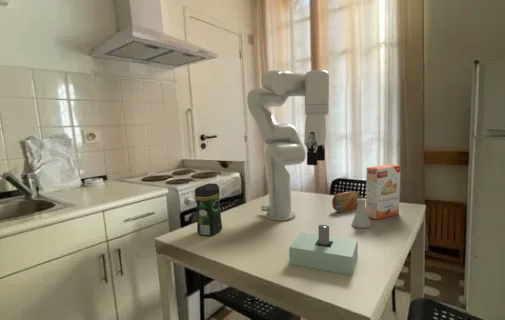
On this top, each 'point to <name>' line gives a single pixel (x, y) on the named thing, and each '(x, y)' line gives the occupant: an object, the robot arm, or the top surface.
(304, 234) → the green block with hole
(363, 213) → the flask
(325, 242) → the peg
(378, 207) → the cracker box
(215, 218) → the coffee jar
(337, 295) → the top surface
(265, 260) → the top surface
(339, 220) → the top surface
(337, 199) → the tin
